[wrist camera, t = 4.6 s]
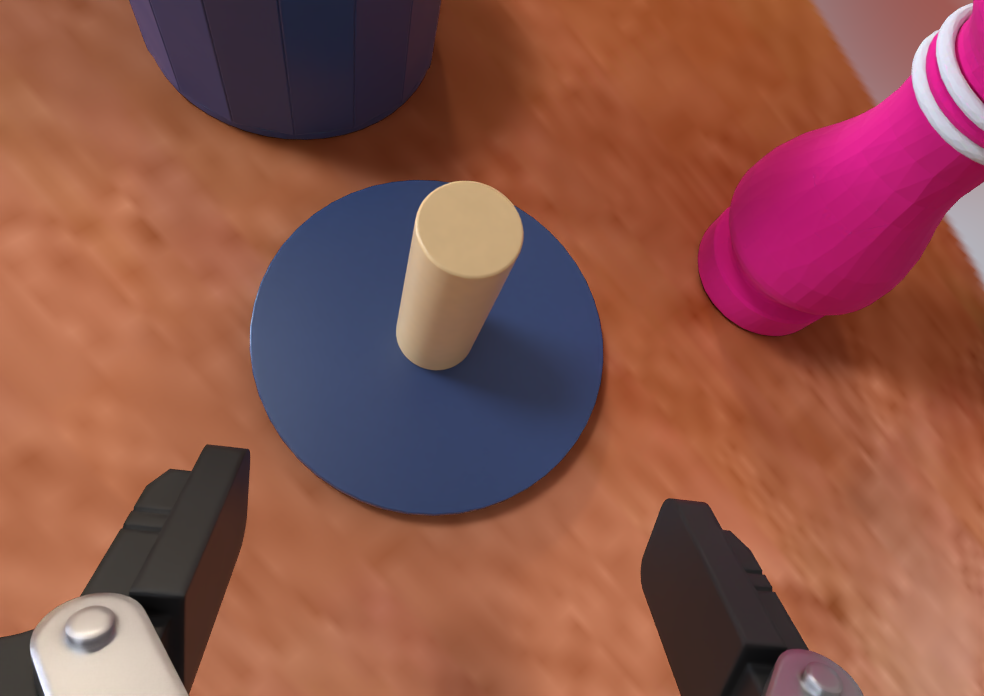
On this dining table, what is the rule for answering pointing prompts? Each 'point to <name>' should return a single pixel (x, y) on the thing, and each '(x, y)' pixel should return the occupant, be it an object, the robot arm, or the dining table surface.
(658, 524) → the robot arm
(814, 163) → the pepper mill
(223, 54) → the can
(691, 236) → the dining table surface
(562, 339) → the lid
